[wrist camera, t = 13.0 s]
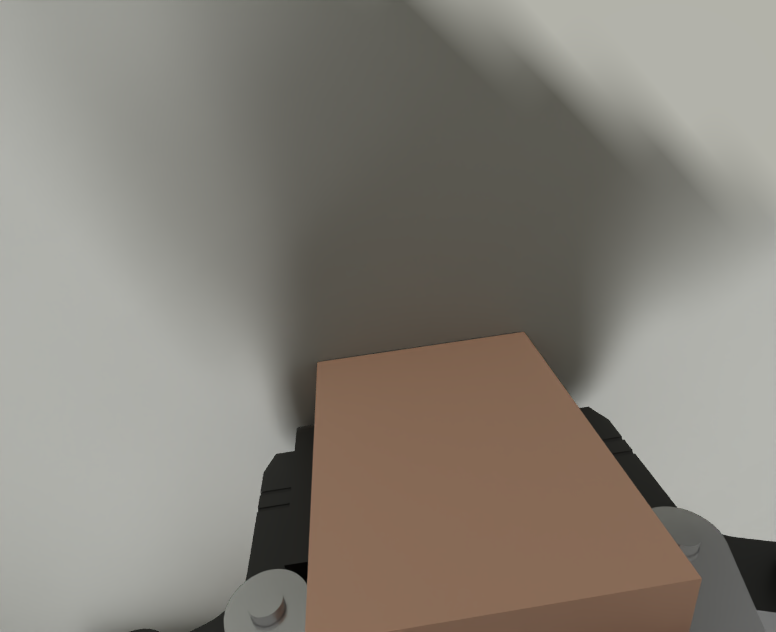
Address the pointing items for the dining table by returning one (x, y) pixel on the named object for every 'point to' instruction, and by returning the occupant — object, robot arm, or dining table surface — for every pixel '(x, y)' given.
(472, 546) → the block
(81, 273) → the dining table surface
